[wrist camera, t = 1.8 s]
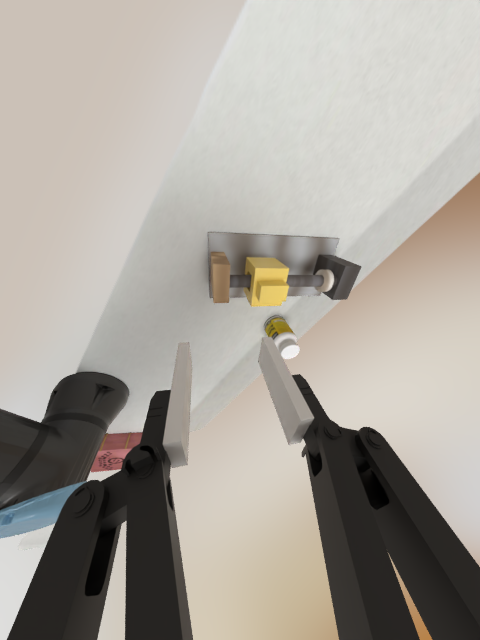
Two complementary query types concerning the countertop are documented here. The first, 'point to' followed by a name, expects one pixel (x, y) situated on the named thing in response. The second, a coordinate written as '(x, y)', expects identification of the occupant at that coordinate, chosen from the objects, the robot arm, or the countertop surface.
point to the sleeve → (266, 281)
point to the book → (114, 451)
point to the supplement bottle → (282, 337)
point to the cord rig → (293, 251)
